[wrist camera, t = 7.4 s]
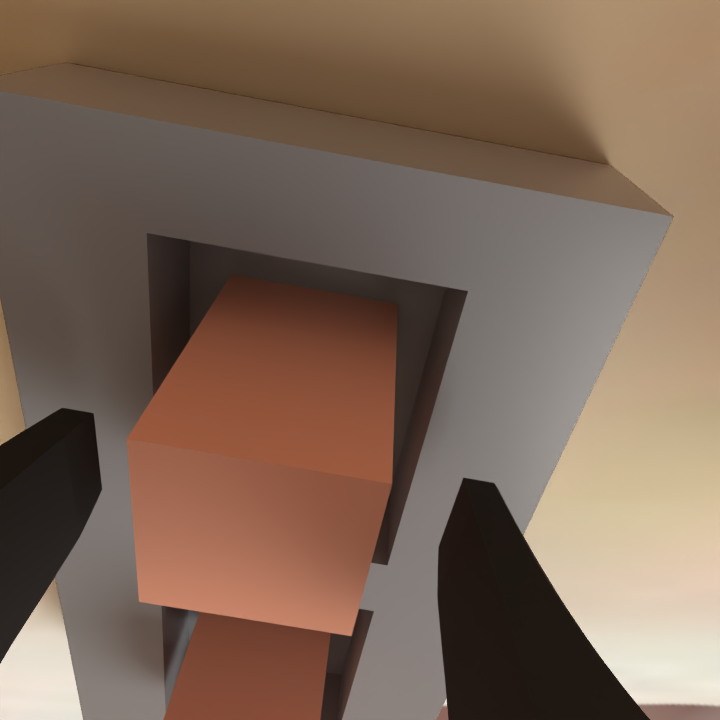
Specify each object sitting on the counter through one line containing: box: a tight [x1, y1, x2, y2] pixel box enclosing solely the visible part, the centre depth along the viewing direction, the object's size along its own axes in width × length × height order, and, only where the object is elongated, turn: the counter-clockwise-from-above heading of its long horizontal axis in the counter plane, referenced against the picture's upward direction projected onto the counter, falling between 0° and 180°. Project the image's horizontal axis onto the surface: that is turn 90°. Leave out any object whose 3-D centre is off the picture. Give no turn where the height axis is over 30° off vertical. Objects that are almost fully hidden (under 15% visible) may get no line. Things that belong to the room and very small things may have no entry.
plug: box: [127, 274, 398, 636], centre depth 12 cm, size 4×4×6 cm
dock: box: [0, 63, 674, 720], centre depth 15 cm, size 12×22×7 cm, turn 171°
